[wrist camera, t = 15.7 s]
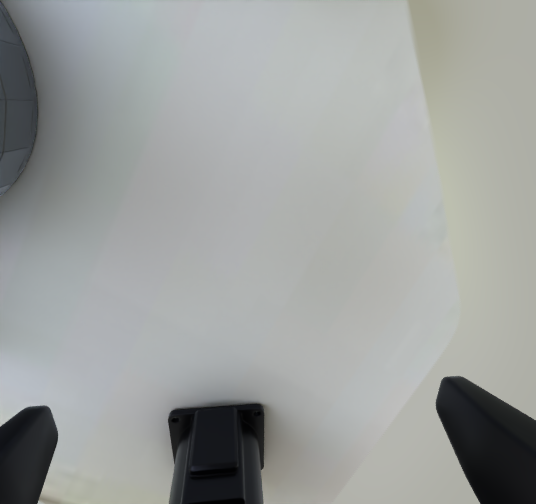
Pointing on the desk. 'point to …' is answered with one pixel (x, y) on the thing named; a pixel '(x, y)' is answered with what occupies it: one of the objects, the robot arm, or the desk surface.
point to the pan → (15, 104)
